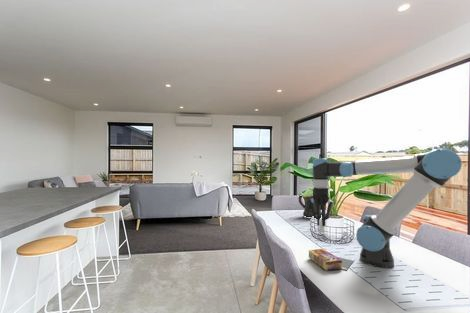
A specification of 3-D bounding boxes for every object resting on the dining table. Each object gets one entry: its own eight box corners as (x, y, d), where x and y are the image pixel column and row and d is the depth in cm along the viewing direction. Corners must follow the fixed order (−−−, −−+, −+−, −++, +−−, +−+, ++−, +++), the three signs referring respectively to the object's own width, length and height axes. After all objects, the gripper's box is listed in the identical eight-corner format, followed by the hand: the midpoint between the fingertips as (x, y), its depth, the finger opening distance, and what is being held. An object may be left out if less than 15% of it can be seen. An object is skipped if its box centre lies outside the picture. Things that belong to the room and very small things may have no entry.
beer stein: (325, 219, 213) (325, 190, 213) (305, 220, 208) (305, 191, 209) (315, 214, 229) (315, 188, 229) (296, 215, 225) (296, 189, 225)
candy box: (308, 258, 127) (325, 270, 112) (308, 249, 127) (325, 261, 112) (323, 256, 129) (342, 268, 114) (323, 248, 129) (342, 259, 114)
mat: (354, 261, 124) (354, 260, 124) (346, 270, 113) (346, 269, 113) (325, 254, 133) (325, 253, 133) (316, 262, 122) (316, 261, 122)
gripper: (335, 187, 127) (336, 232, 127) (311, 186, 135) (312, 228, 135) (330, 188, 121) (331, 235, 121) (306, 187, 130) (306, 231, 129)
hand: (321, 231), depth 128 cm, fingers closed
